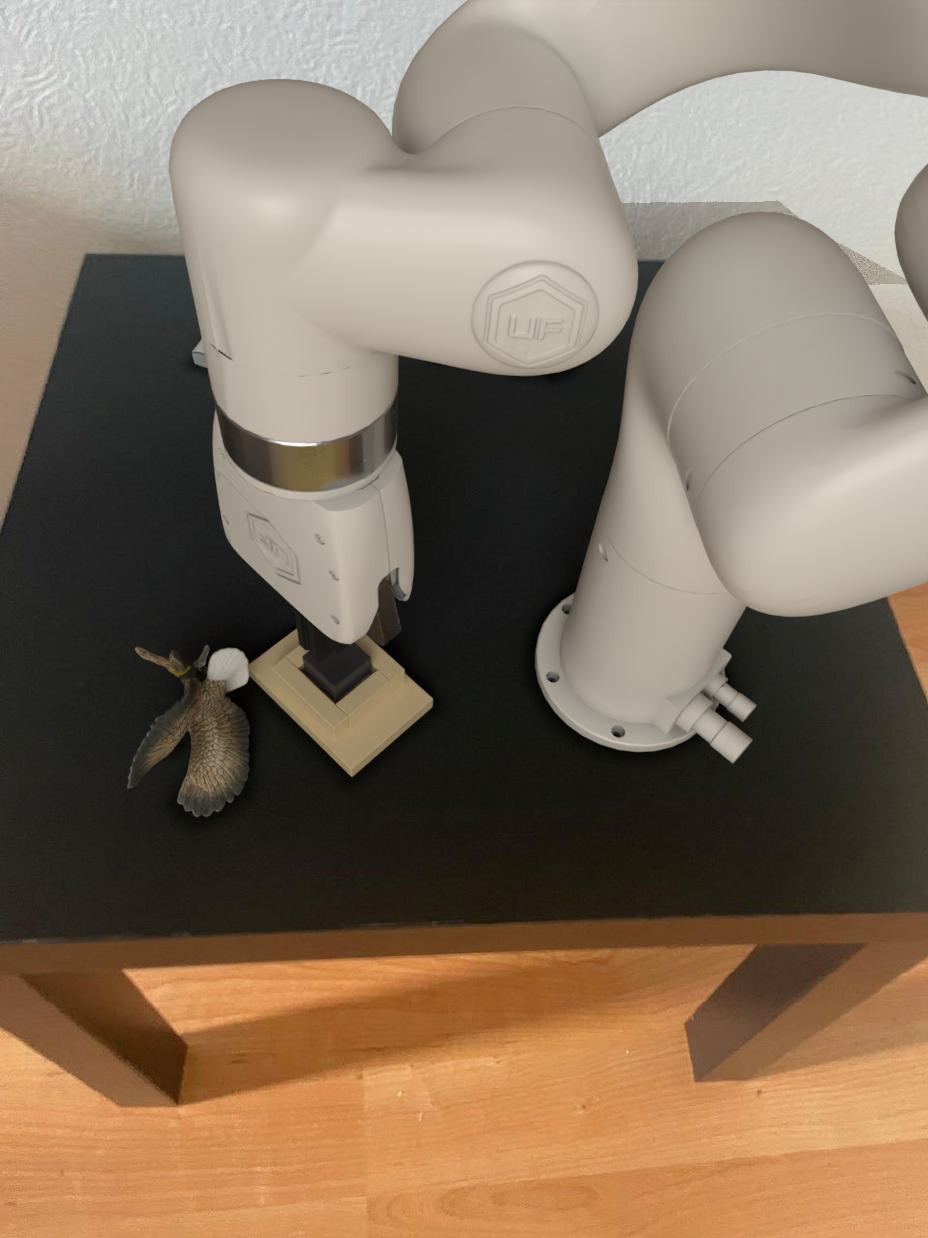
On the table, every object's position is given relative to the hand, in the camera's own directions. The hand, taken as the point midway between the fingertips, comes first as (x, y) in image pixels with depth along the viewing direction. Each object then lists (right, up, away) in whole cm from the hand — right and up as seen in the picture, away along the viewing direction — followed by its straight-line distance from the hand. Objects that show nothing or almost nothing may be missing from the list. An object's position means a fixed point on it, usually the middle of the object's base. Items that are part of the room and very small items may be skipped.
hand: (329, 639), depth 54 cm
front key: (0, -2, +3) cm, 4 cm away
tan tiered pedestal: (0, -4, +5) cm, 6 cm away
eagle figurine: (-8, -7, +3) cm, 11 cm away
